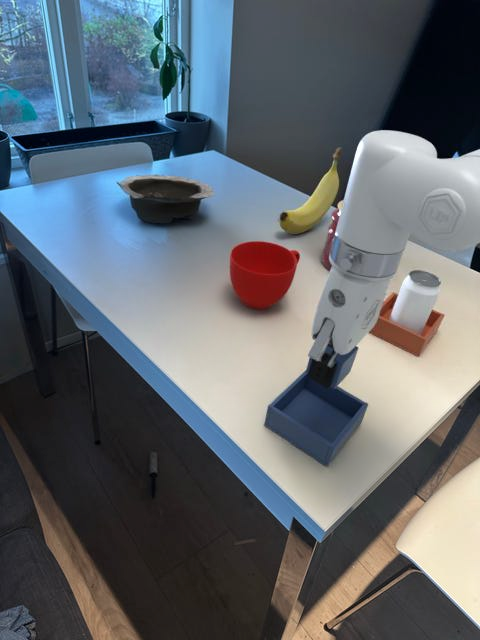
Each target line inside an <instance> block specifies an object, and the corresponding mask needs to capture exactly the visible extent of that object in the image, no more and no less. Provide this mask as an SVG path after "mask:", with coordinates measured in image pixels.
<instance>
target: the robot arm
mask: <svg viewBox="0 0 480 640" xmlns="http://www.w3.org/2000/svg"><path fill="white" fill-rule="evenodd" d="M347 181H348V182H347V186H346V188H345V189H346V190H345V193H344V197H343V200H344V201H343V205H342V209H341V213H340V217H339V221H338V224H337V229H336V232H335V236H334V240H333V243H332V247H331V251H330V255H329V261H330V263H331V264H332V267H331V270H329V273H328V276H327V278H326V281H325V283H324V286H323V289H322V291H321V294H320V297H319V300H318V304H317V306H316V307H317V308H316V311H315V314H314V317H313V322H312V325H311V331H310V332H311V333H310V335H311V339H312V340H313V341H314V342H313V344H312V346H311V348H310V350H309V352H308V354H307V356H308V358H310V357H311V358H312V362H311V365H310V369H309V372H308V377H309V378H310V379H312V380H314V381H315V382H317V383H319V384H320V385H322V386H324V387H326V388H329V387H330V385H331V383H332V380H333V377H334V374H335V371H336V367H337V364H335V362H336V359H337V357H338V354H340V355H344V354H347V353H349V352H350V351H351V350H352V349H353V348H354V347H355V346H357V345H358V344H359V343H360V342H361V341H362V340H363V339H364V338H365V337H366V336H367V335H368V334H370V333H369V332H370V330H371V329H372V328H373V327H374V326H375V324H376V322H377V320H378V317H379V314H380V311H381V308H382V305H383V302H384V301H385V298H386V295H387V292H388V288H389V284H390V282H391V280H392V279H393V278H394V277H395V275H396V274H397V271H398V269H399V265H400V262H401V259H402V257H403V255H404V251H405V250H406V247H407V244H408V241H409V238H410V235H411V236H413V237H414V238H416V239H417V240H418V241H420V242H422V243H424V244H426V245H427V246H430V247H431V248H434V249H436V250H440V251H445V252H460V251H464V250H468V249H471V248H474V247H475V246H477V245H479V244H480V148H479V149H476V150H474V151H471V152H468V153H466V154H463V155H461V156H458V157H452V158H451V157H450V158H438V152H437V149H436V147H435V146H434V145H433V144H432V142H430V141H428V140H427V139H425V138H423V137H422V136H419V135H416V134H412V133H408V132H403V131H398V130H390V129H389V130H387V129H386V130H385V129H384V130H383V129H380V130H374V131H371V132H368V133H367V134H365V135H364V136H363V137H362V138H361V139H360V141H359V143H358V145H357V148H356V151H355V154H354V158H353V163H352V166H351V170H350V174H349V178H348V180H347ZM331 337H332V339H331ZM327 346H329V347H331V348H332V349H333V351H332V354H331V356H330V355H329V354H328V353H326V352H325V349H326V347H327Z"/></svg>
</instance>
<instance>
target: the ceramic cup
mask: <svg viewBox="0 0 480 640" xmlns="http://www.w3.org/2000/svg"><path fill="white" fill-rule="evenodd" d="M300 254H301V253H300V252H299V251H298V250H296V249H292V250H290V249H288V248H287V247H285V246H282V245H280V244H277V243H273V242H270V241H263V240H261V241H259V240H253V241H245V242H241V243H239V244H237V245H236V246H234V247H232V249H231V251H230V253H229V277H230V283H231V287H232V289H233V291H234V293H235V294H236V296H237V297H238V298H239V300H240V301H241V302H242V304H244V305H245V306H246V307H248V308H251V309H255V310H265V309H269V308H271V307H272V306H274V305H275V304H277V303H278V302H279V301H281V300H282V299H283V298H284V297H285V296H286V294H287V293H288V291H289V289H290V288H291V285H292V283H293V281H294V277H295V274H296V271H297V268H298V264H299V261H300V260H301V259H300V258H301V255H300Z"/></svg>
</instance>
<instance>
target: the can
mask: <svg viewBox="0 0 480 640" xmlns="http://www.w3.org/2000/svg"><path fill="white" fill-rule="evenodd" d="M441 284H442V280H441V279H440V277H438V276H437V275H436V274H435V273H432V272H429V271H426V270H421V269H413V270H410V272H408V275H407V276H406V277H405V278H404V280H403V282H402V284H401V287H400V289H399V292H398V293H397V294H398V297H397V299H396V302H395V305H394V307H393V310H392V313H391V315H390V318H389V321H391V322H394V323H396V324H398V325H400V326H402V327H404V328H406V329H408V330H411V331H413V332H415V333H417V334H419V335H421V333H422V331H423V329H424V327H425V324H426V322H427V320H428V318H429V315H430V313H431V311H432V309H433V308H434V307H435V304H436V302H437V299H438V297H439V294H440V292H441V286H440V285H441ZM433 310H434V309H433Z"/></svg>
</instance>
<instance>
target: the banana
mask: <svg viewBox="0 0 480 640" xmlns="http://www.w3.org/2000/svg"><path fill="white" fill-rule="evenodd" d="M342 150H343V149H342V147H341V146H340V147H337V148H336V149H335V151H334V153H333V154H332V158H333V162H332V165H331V167H330V169H329V170H328V172H326V173H325V174H324V176H322V179H321V180H320V182H319V183H318V184H317V186H316V188H315V190H314V191H313V193H312V194H311V196H310V197H309V198H308V200H307V201H306V202H305V203H304V204H303V205H301V206H300V207H298V208H296V209H292V210H291V209H289V210H284V211H282V212H281V213H280V214H279V217H278V224H279V228H281V230H283V231H284V232H286V233H289V234H294V235H295V234H296V235H298V234H302V233H306V232H307V231H309V230H310V229H312V228H314V227H315V226H316V225H317V224H318V223H319V222H321V220H322V219H323V218H324V216H326V214H327V213H328V211H329V209H331V207H332V205H333V203H334V201H335V200H336V197H337V195H338V191H339V187H340V178H339V174H338V170H337V166H338V161H339V159H340V157H341V155H342Z"/></svg>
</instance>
